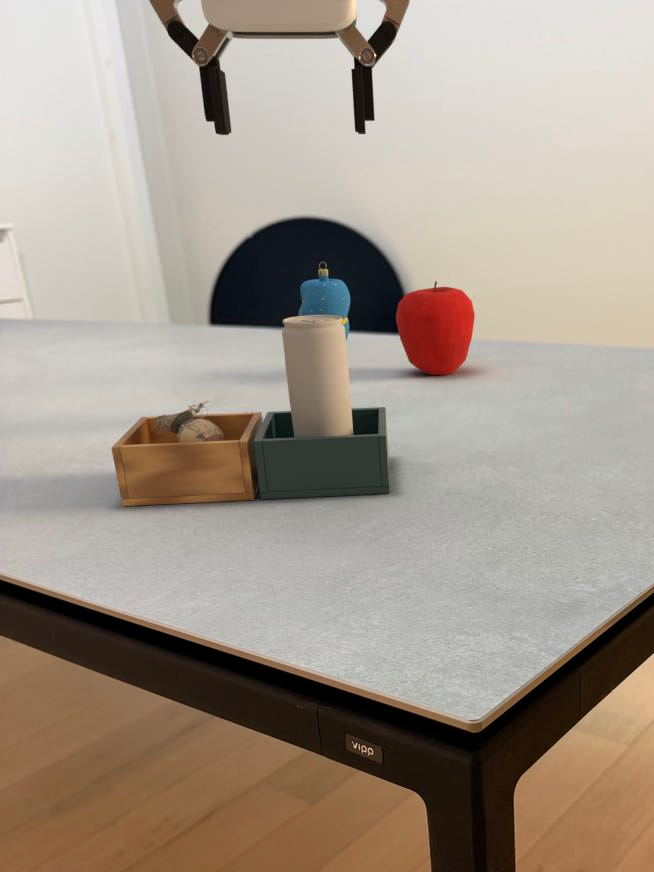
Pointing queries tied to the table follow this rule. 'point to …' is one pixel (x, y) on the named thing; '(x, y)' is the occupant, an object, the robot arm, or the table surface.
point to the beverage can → (317, 375)
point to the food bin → (188, 463)
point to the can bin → (323, 458)
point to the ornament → (325, 298)
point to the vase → (190, 426)
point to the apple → (436, 328)
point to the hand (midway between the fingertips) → (292, 133)
